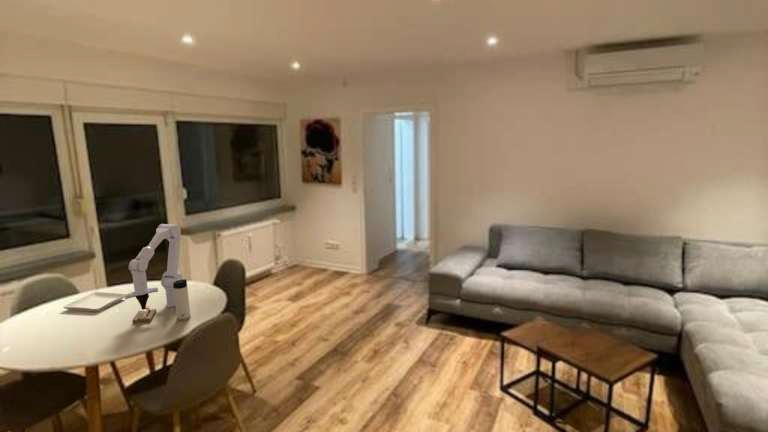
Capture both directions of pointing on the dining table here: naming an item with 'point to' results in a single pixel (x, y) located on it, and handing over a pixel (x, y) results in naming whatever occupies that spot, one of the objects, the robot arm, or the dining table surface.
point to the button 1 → (142, 316)
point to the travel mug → (181, 300)
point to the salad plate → (95, 301)
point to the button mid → (144, 312)
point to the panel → (148, 319)
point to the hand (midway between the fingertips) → (143, 308)
